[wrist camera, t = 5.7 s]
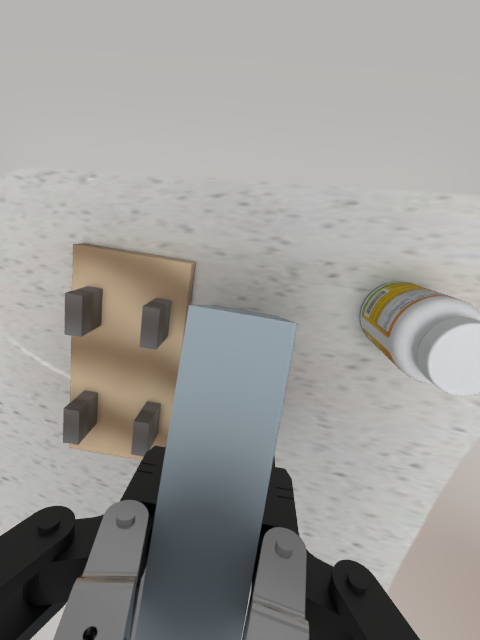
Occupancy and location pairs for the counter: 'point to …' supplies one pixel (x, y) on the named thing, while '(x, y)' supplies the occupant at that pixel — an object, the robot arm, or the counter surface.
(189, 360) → the blue grey rectangular block
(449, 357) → the supplement bottle
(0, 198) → the counter surface
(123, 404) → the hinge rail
